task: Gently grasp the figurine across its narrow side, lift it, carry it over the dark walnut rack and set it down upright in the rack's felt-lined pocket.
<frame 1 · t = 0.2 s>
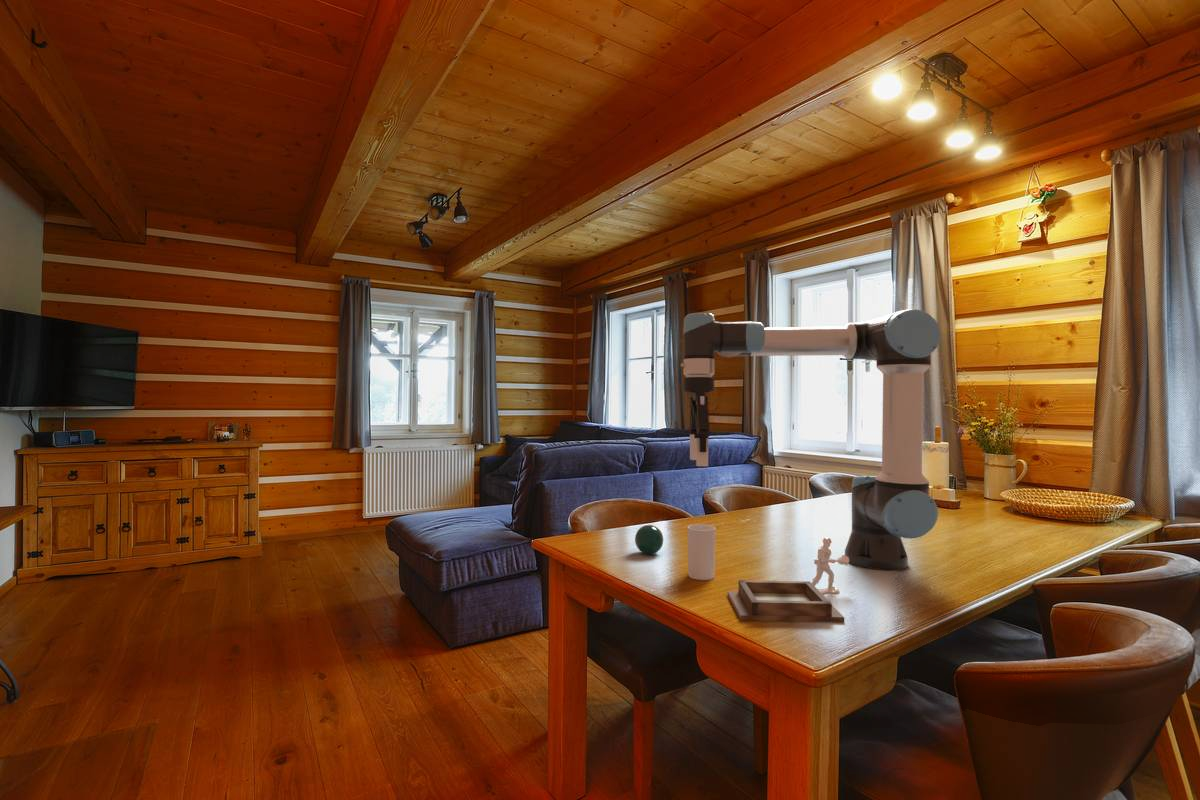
hand: (698, 462, 140), 28 cm above the table, fingers open, 13 cm apart
rack: (782, 608, 118), on the table
figurine: (827, 592, 128), on the table
mug: (700, 575, 140), on the table
sphere: (649, 554, 159), on the table
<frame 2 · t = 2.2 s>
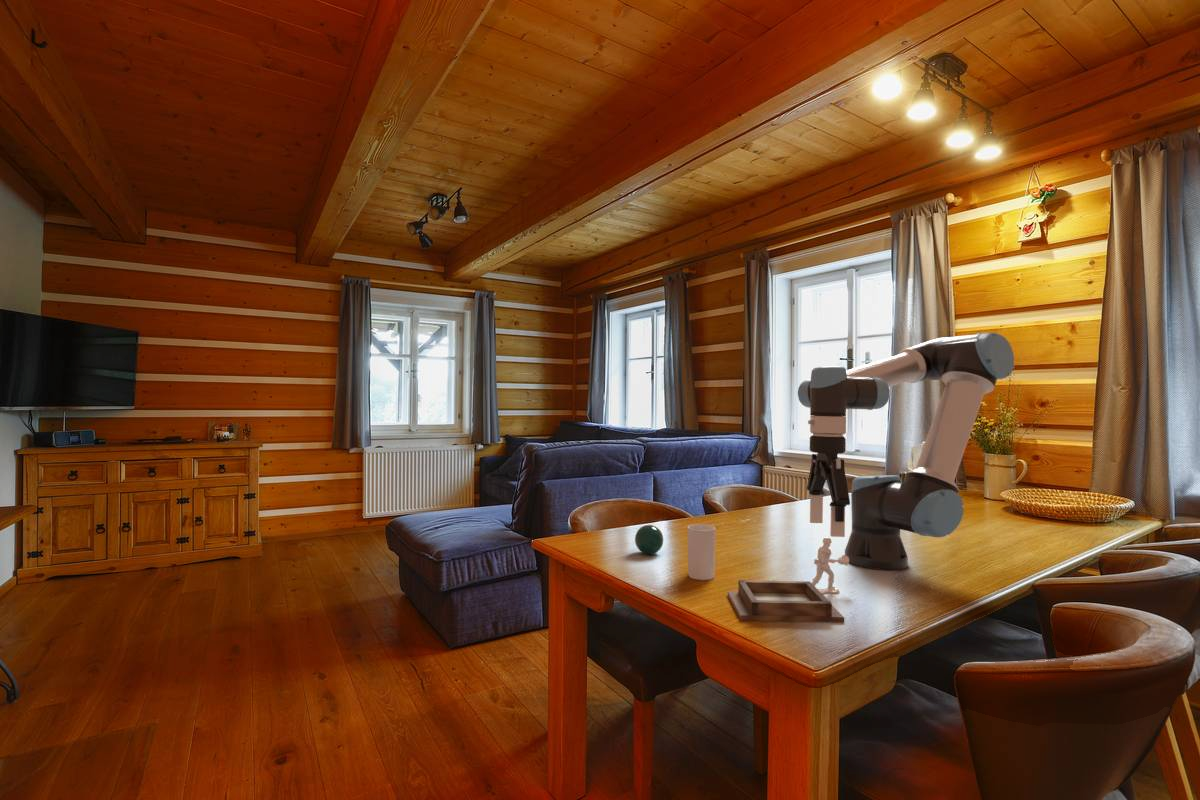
hand: (826, 529, 128), 14 cm above the table, fingers open, 13 cm apart
nothing on the table moved.
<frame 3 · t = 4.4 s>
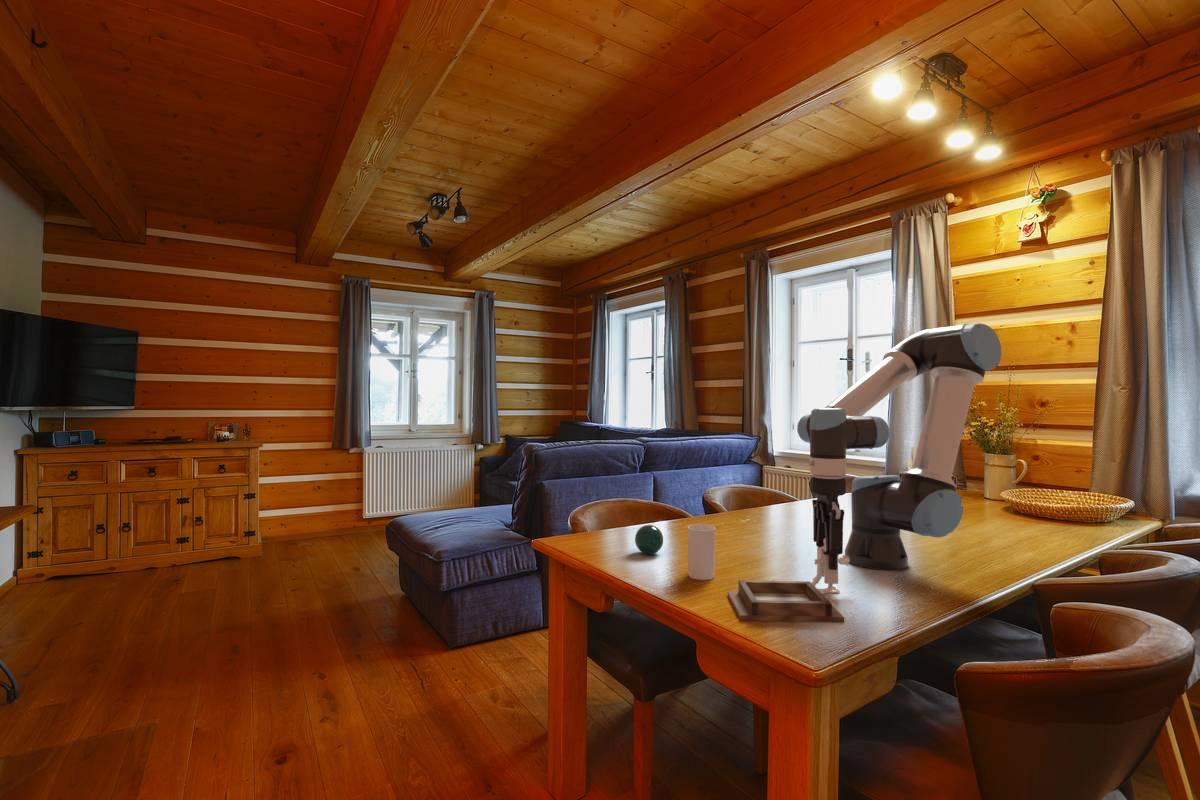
hand: (827, 579, 128), 3 cm above the table, fingers closed on figurine, 4 cm apart
figurine: (827, 592, 128), on the table, touching gripper
everything else where it was.
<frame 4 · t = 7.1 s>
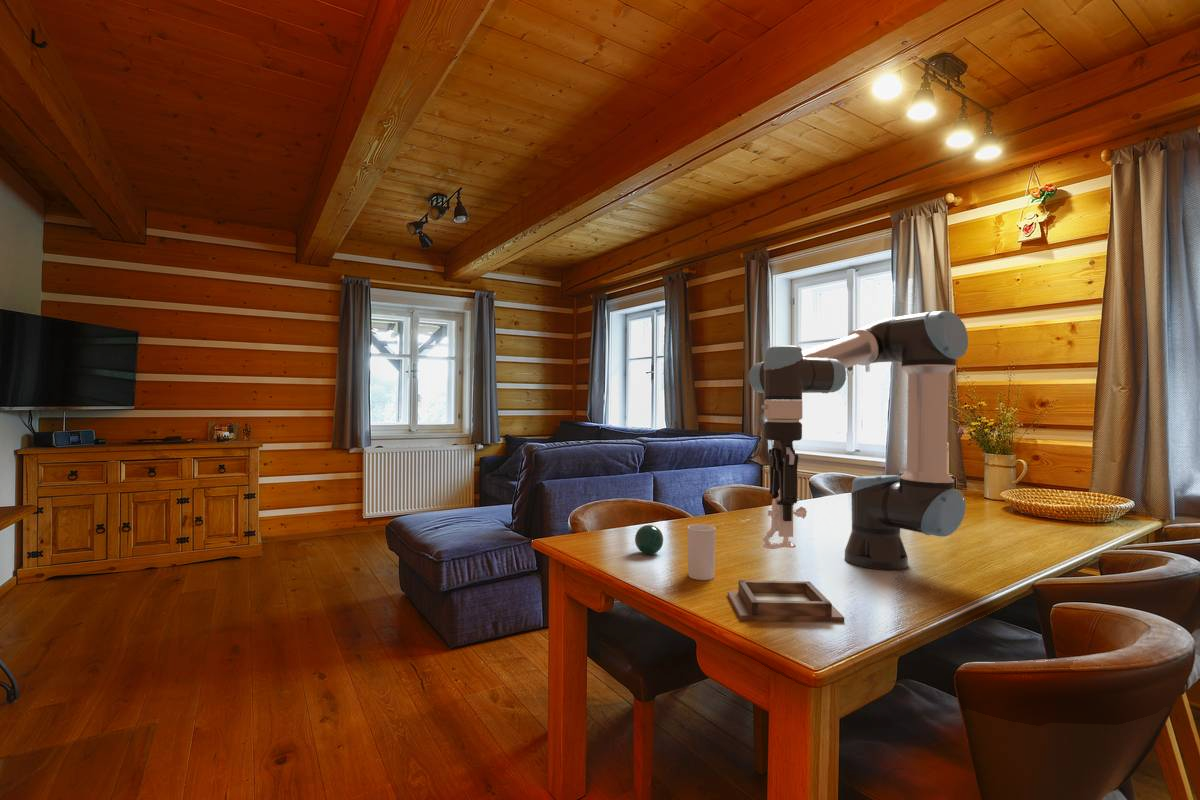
hand: (782, 533, 118), 16 cm above the table, fingers closed on figurine, 4 cm apart
figurine: (782, 546, 118), point 13 cm above the table, touching gripper
everything else where it was.
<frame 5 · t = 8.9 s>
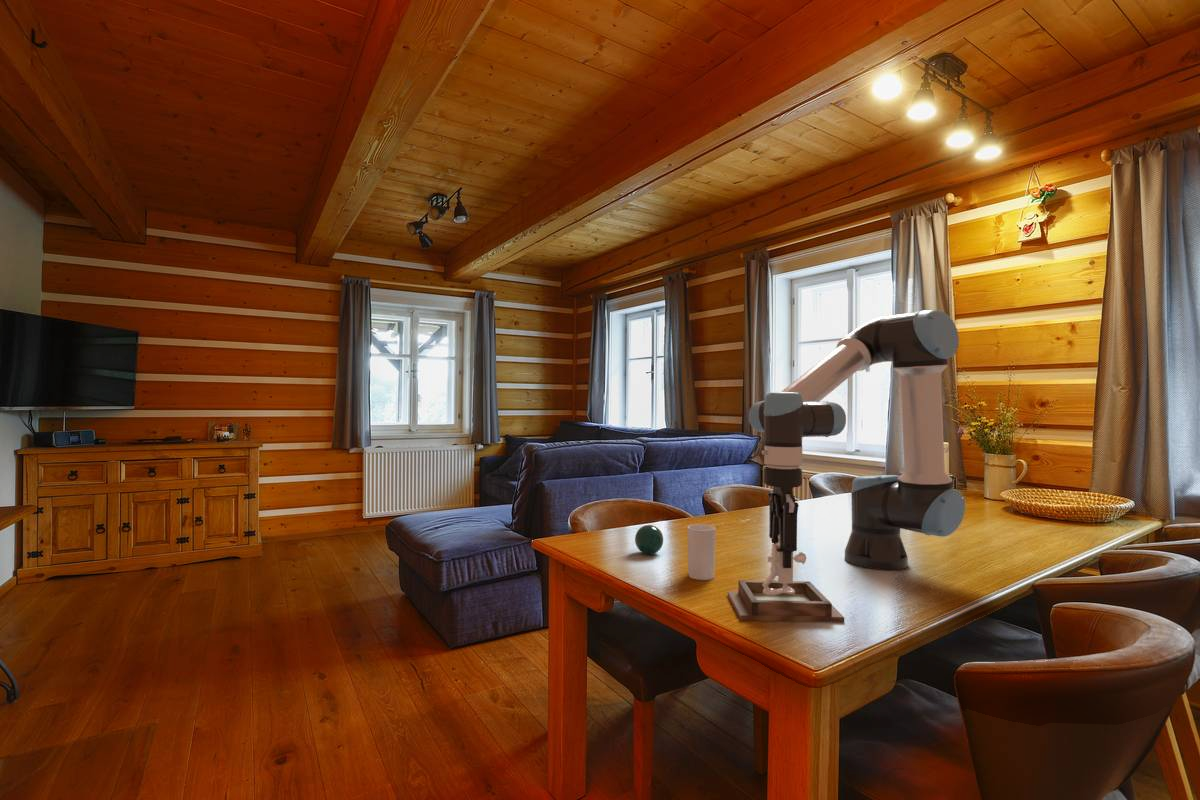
hand: (782, 578, 118), 6 cm above the table, fingers closed on figurine, 4 cm apart
figurine: (782, 592, 118), point 3 cm above the table, touching gripper
everything else where it was.
when the fingers open (4 cm above the table, at t = 10.2 s): figurine stays where it is, resting on rack.
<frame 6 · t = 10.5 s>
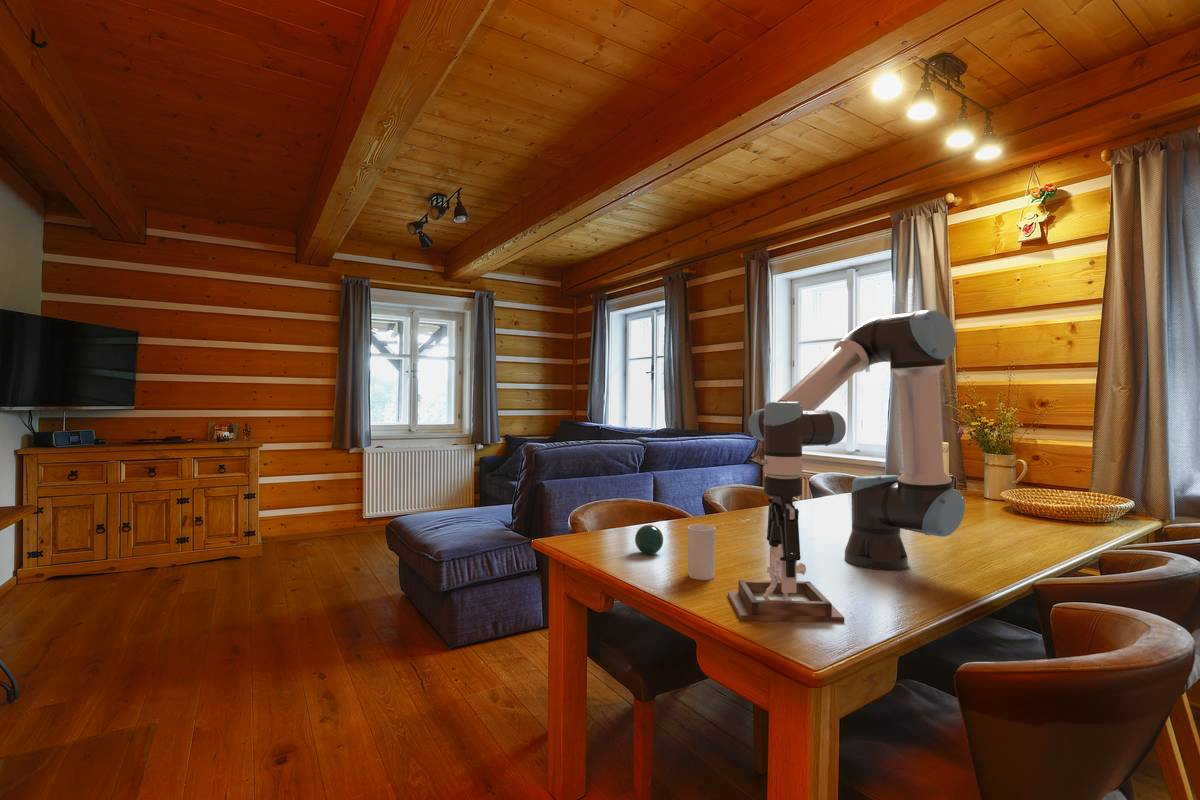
hand: (782, 584, 118), 5 cm above the table, fingers open, 9 cm apart
figurine: (782, 603, 118), point 1 cm above the table, touching rack
everything else where it was.
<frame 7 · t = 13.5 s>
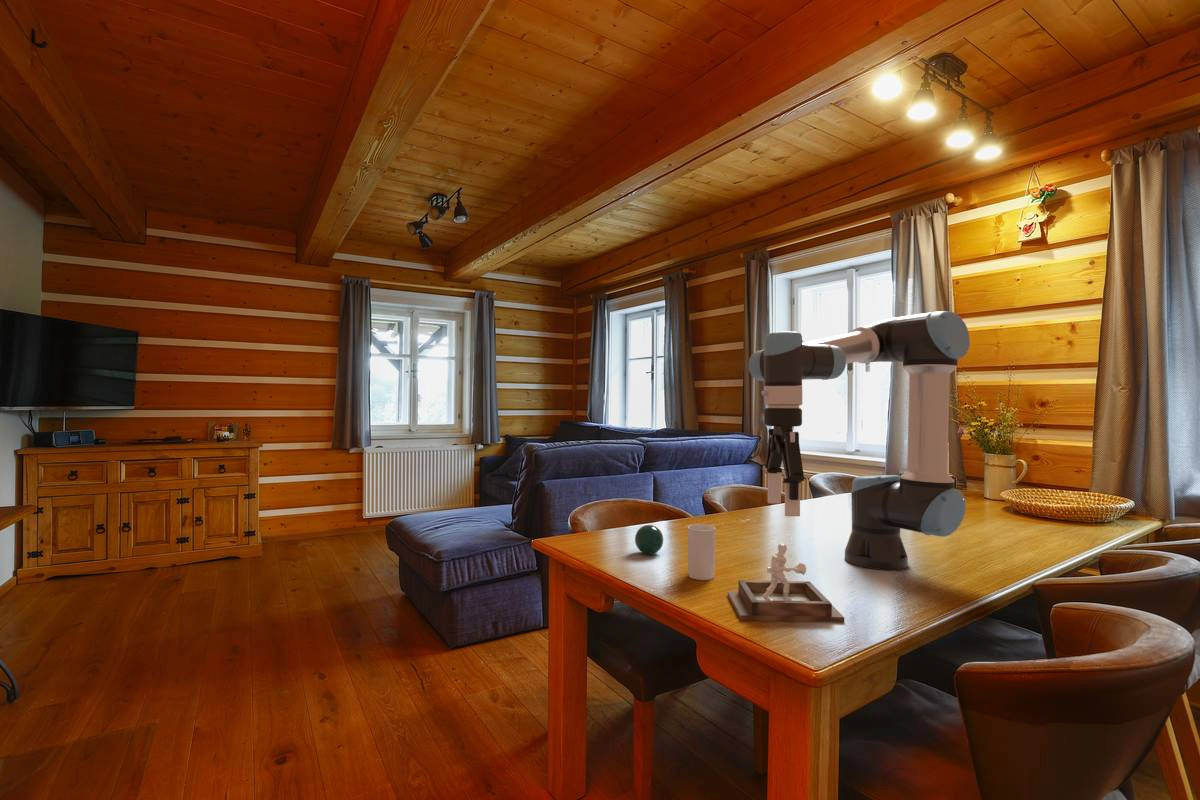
hand: (782, 509, 118), 21 cm above the table, fingers open, 13 cm apart
nothing on the table moved.
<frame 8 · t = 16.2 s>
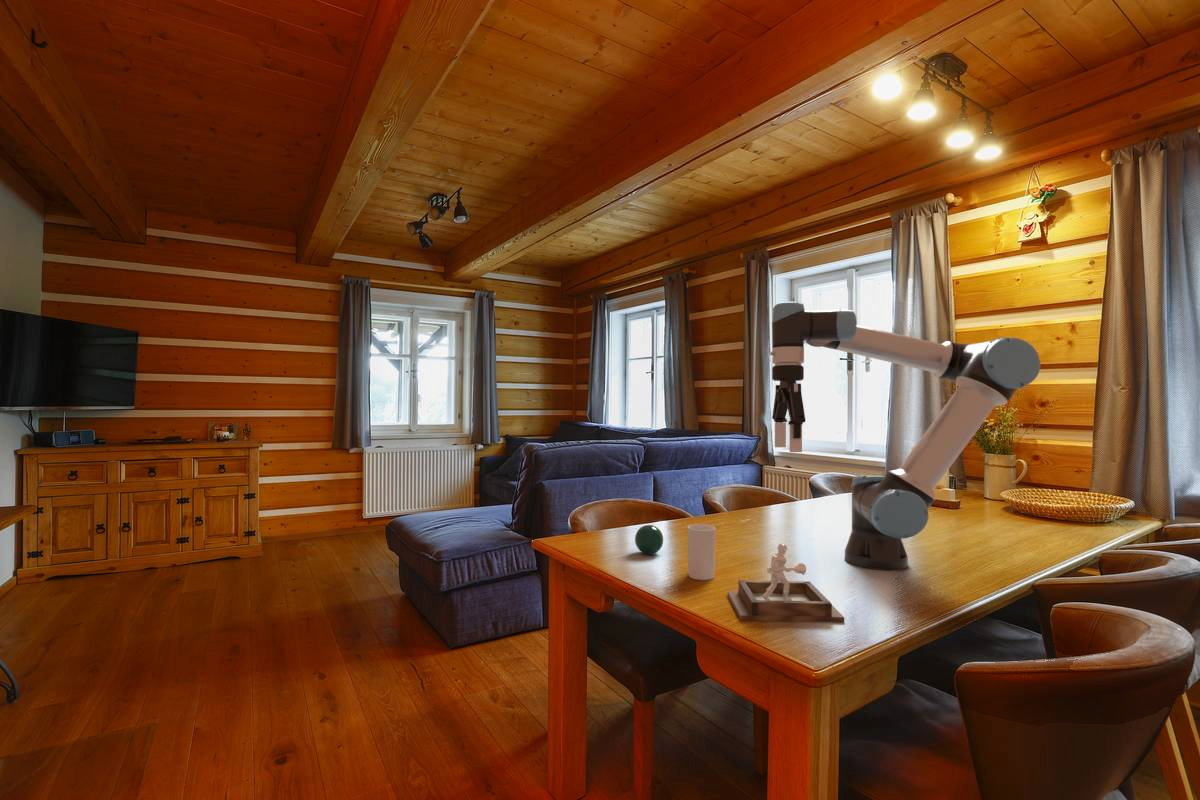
hand: (787, 449, 142), 31 cm above the table, fingers open, 13 cm apart
nothing on the table moved.
at the end: figurine inside the target area on the rack (0.0 cm from its centre), point 1.0 cm above the rack's base; figurine tilted 0°; the gripper is holding nothing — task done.
